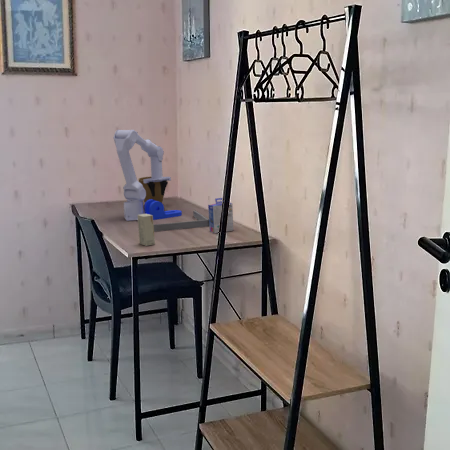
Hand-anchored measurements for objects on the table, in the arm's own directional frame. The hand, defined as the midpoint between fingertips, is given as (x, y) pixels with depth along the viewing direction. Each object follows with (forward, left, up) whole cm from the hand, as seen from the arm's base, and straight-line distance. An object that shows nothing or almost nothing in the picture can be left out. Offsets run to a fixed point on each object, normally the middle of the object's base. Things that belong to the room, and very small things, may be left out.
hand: (158, 195), depth 325 cm
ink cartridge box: (+16, -58, -9) cm, 61 cm away
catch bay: (0, -33, -8) cm, 34 cm away
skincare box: (-19, -68, -9) cm, 71 cm away
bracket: (0, -14, -9) cm, 17 cm away
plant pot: (0, +13, -9) cm, 16 cm away
